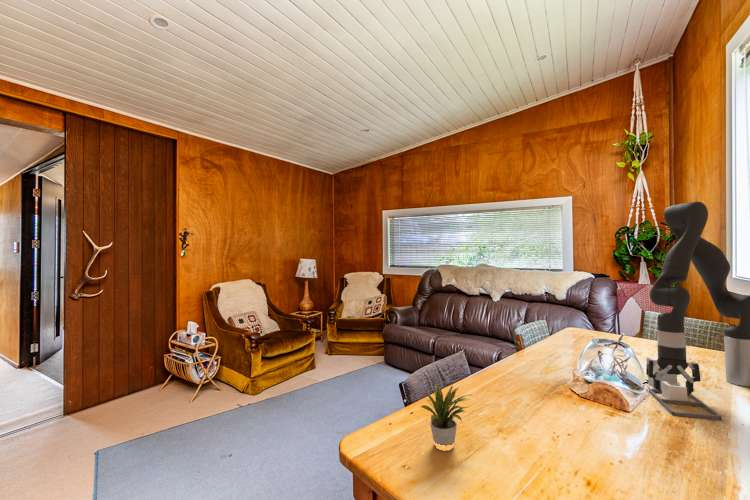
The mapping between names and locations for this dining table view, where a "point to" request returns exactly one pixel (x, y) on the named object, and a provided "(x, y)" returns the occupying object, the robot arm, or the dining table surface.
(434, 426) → the house plant
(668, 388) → the white and grey cube
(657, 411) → the dining table surface
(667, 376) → the small box
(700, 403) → the frame
